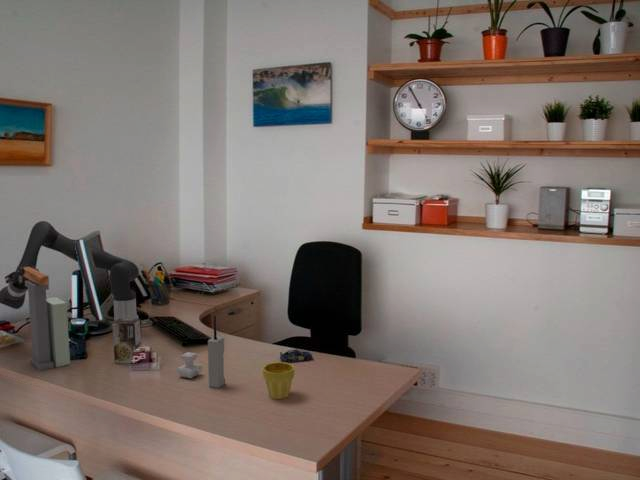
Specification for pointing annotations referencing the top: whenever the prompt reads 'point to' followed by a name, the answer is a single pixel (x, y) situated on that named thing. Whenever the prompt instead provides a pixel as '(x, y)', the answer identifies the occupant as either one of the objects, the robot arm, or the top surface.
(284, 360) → the race car
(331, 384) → the top surface
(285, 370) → the plant pot
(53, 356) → the pale green tall block
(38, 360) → the tall stand
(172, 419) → the top surface
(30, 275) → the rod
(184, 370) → the stamp
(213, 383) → the vintage mobile phone
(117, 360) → the coffee box
